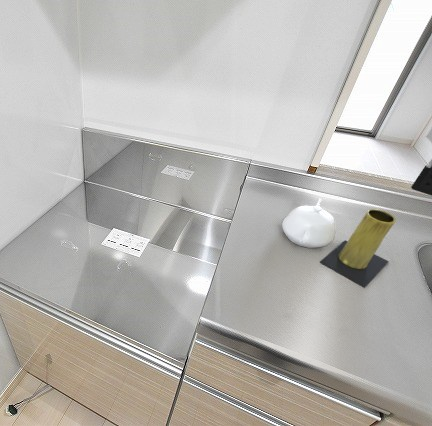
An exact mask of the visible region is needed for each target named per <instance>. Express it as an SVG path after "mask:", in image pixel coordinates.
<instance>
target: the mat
mask: <svg viewBox="0 0 432 426" xmlns="http://www.w3.org/2000/svg"><path fill="white" fill-rule="evenodd" d="M347 242H348V240H346V239H345V240H344V241H342V242H341V243H340V244H339V245H338V246H336V247H335V248H334V249H333V250H332V251H331V252H329V253H328V254H327V255H326V256H325V257H324V258H322V259H321V260H320V261H319V263H320V265H321V264H322V265H323V266H324V267H326V268H329V270H332V271H333V272H335V273H337V274H339V275H340V276H342V277H344V278H346V279H348V280H350V281H351V282H353V283H355V284H357V285H359V286H361V287H362V288H363V289H365V288H366V287H367V286H368V285H370V283H371V282H372V281H373V280H374V278H375V277H376V276H377V275H378V274H379V273H380V272H381V271H382V270H383V269H384V268H385V266H386V265H388V264H389V260H387V259H385V258H383V257H381V256H378V255H377V254H374V255H373V257H372V258H371V260H370V261H369V263H368V265H367V267H366V268H364V269H356V268H352V267H349V266H347V265H345V264H344V263H343V262H341V260H340V259H339V257H338V254H339V253H340V252H341V250H342V249H343V247H344V246H345V245H346V243H347Z"/></svg>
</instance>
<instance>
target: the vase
mask: <svg viewBox="0 0 432 426" xmlns="http://www.w3.org/2000/svg"><path fill="white" fill-rule="evenodd" d="M396 221H397V219H396V217H395V216H394V215H392V214H391V213H389V212H387V211H385V210H381V209H377V208H372V209H371V208H370V209H368V210H367V211H366V213H365V214H364V215H363V217H362V219H361V220H360V222H359V224H358V225H357V226H356V228H355V230H354V231H353V233H352V234H351V236H350V237H349V238H348V240H347V241H348V242H347V243H346V245H345V246H344V247H343V249H342V250H341V252H340V253H339V254H338V257H339V259H340V260H341V262H343V263H344V264H345V265H347V266H349V267H352V268H356V269H364V268H366V267H367V265H368V263H369V261H370V260H371V258H372V257H373V255H374V254H375V253H376V252H377V251H378V249H379V248H380V246H381V244H382V242H383V240H384V239H385V237H386V236H387V234H388V233H389V232H390V230H391V229H392V227H393V226H394V224H395V223H396ZM375 255H376V254H375Z"/></svg>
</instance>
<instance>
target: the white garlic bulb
mask: <svg viewBox="0 0 432 426" xmlns="http://www.w3.org/2000/svg"><path fill="white" fill-rule="evenodd" d="M321 202H323V198H321V197H318V200H317V202H316V204H315V205H299V206H298V207H295V208H294V209H292V210H291V211H290V212H289V213H288V214H287V216H286V217H285V218H284V219H283V220H282V223H281V224H282V231H283V232H284V234H285V236H286V237H287V239H289V240H290V241H291V242H292V243H293V244H295V245H297V246H300V247H302V248H303V247H304V248H308V249H317V248H323V247H326V246H328V245H330V244H331V243H332V242H333V241H334V240H335V237H336V221H335V219H334V216H333V215H332V214H331V213H330V212H329V211H328V210H325V209H323V208H322V207H321Z"/></svg>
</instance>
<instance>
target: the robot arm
mask: <svg viewBox="0 0 432 426" xmlns="http://www.w3.org/2000/svg"><path fill="white" fill-rule="evenodd" d="M410 188H411V190H413V191H416V192H419V193H423V194H424V195H428V196H432V158H431V159H430V160H429V162H427V164H426V165H424V167H423V168H422V170H421V171H420V173H419V174H418V176H417V177H416V179H415V180H414V182H413V183H412V185H411V187H410Z"/></svg>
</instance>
